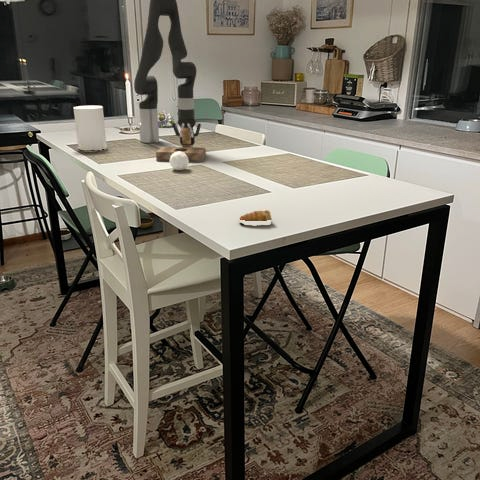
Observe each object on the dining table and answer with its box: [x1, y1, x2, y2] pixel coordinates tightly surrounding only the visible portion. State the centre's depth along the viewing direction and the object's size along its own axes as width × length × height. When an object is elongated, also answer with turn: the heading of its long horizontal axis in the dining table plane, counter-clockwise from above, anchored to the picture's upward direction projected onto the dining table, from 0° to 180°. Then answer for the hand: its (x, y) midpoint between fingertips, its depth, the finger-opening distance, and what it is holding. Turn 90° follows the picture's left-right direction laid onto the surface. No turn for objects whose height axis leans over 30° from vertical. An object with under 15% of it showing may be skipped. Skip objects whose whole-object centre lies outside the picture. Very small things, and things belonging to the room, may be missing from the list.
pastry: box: [239, 209, 273, 221], centre depth 141 cm, size 9×7×4 cm
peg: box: [181, 128, 194, 148], centre depth 231 cm, size 4×4×12 cm
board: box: [155, 146, 207, 163], centre depth 221 cm, size 20×12×4 cm, turn 83°
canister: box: [73, 105, 108, 151], centre depth 239 cm, size 14×14×20 cm
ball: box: [169, 151, 190, 171], centre depth 200 cm, size 8×8×8 cm
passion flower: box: [158, 110, 175, 129], centre depth 306 cm, size 11×11×12 cm
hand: (187, 144), depth 232 cm, fingers closed on peg, 4 cm apart
